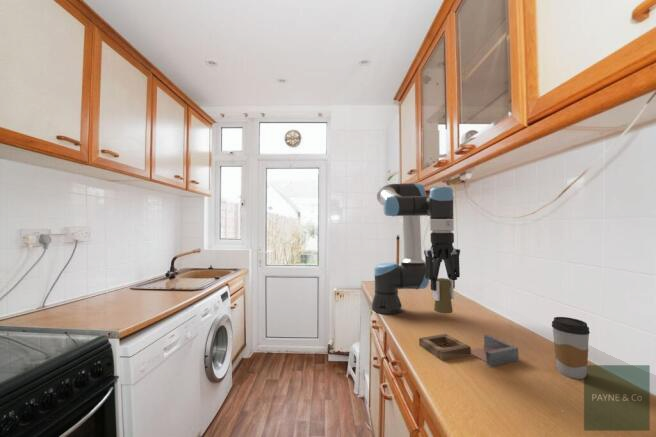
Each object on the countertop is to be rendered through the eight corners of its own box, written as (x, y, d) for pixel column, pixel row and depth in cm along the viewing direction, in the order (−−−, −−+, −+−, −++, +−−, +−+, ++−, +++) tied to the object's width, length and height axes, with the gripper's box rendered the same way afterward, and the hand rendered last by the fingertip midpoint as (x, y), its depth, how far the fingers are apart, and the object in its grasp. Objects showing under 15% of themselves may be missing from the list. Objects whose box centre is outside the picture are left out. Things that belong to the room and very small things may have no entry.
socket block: (419, 345, 99) (419, 337, 99) (445, 340, 102) (445, 333, 102) (442, 360, 88) (441, 352, 88) (470, 354, 91) (470, 346, 91)
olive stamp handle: (454, 313, 92) (454, 280, 92) (435, 312, 93) (435, 280, 93) (450, 308, 98) (449, 277, 98) (432, 307, 99) (432, 276, 99)
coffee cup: (592, 373, 79) (590, 321, 80) (590, 385, 74) (588, 328, 74) (555, 363, 85) (553, 314, 86) (550, 373, 80) (549, 321, 80)
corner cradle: (461, 350, 94) (461, 338, 94) (487, 345, 98) (487, 334, 98) (490, 366, 83) (490, 353, 84) (518, 360, 87) (518, 348, 87)
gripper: (426, 232, 89) (428, 304, 89) (471, 231, 95) (472, 299, 95) (413, 232, 97) (414, 298, 96) (455, 231, 102) (456, 293, 102)
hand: (443, 298), depth 95 cm, fingers closed on olive stamp handle, 5 cm apart
